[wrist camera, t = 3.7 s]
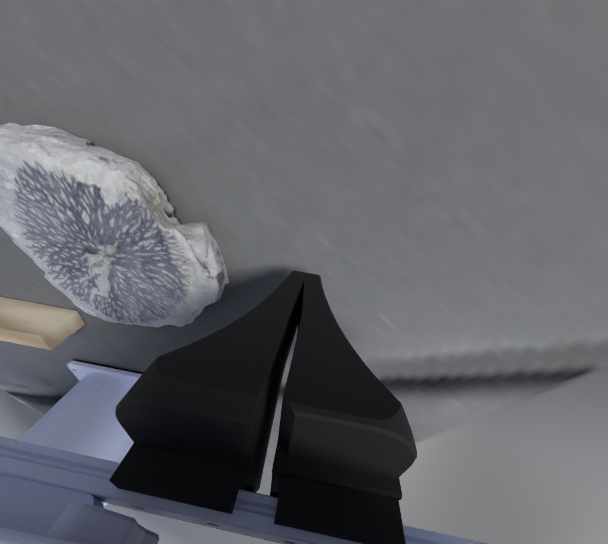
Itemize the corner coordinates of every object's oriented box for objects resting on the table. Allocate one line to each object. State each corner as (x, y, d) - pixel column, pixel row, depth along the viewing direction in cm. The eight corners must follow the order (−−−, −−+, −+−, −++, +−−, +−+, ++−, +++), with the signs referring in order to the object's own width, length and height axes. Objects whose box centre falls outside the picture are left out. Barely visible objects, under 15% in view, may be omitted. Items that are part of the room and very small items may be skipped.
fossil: (242, 261, 9) (145, 391, 12) (266, 242, 13) (187, 344, 16) (-27, 54, 7) (-63, 264, 10) (91, 103, 11) (40, 246, 14)
